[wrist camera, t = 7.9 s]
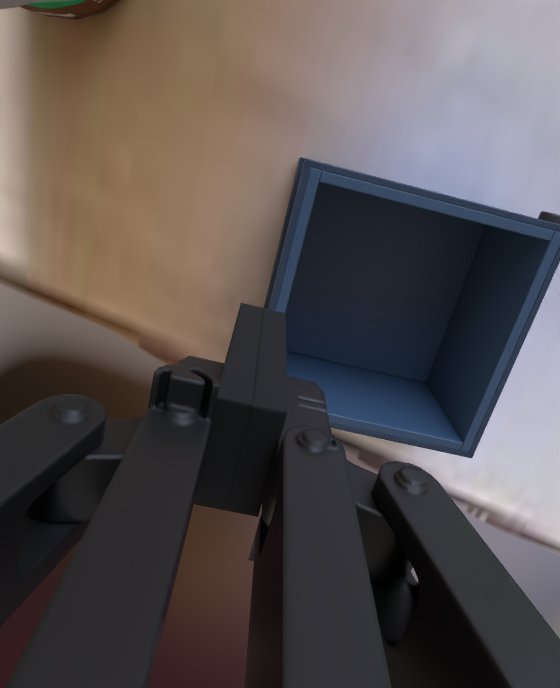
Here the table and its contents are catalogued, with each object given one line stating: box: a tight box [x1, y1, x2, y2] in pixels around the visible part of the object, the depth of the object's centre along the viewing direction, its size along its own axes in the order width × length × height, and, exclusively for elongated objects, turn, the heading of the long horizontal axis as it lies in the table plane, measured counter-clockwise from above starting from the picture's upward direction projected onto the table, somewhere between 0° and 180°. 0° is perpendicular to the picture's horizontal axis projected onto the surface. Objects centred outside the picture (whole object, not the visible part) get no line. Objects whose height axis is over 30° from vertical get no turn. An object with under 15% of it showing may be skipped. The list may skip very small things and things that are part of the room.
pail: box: [264, 158, 560, 458], centre depth 28 cm, size 13×8×13 cm
